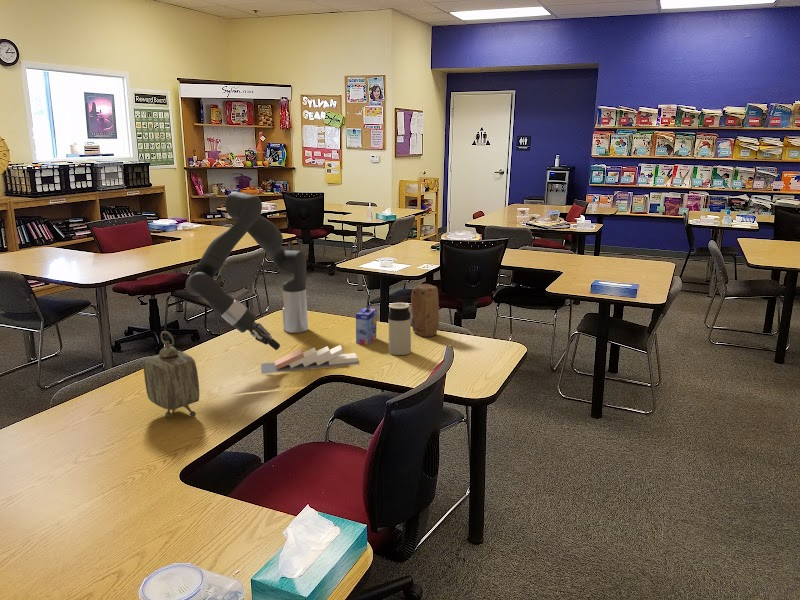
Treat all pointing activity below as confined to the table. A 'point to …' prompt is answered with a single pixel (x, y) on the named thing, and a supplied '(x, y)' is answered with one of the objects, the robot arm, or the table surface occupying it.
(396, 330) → the travel mug
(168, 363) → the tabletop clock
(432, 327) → the block
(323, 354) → the domino
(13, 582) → the table surface
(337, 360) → the domino
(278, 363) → the domino
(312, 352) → the domino
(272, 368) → the mat
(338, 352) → the domino
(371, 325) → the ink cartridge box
